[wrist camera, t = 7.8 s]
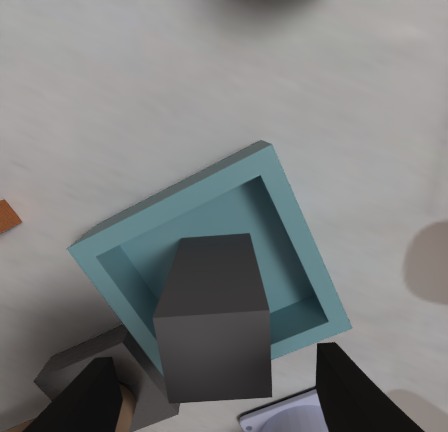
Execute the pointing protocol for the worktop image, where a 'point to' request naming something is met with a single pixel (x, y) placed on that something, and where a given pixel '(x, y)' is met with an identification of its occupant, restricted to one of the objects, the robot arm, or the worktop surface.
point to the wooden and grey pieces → (122, 357)
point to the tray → (210, 226)
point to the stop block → (214, 322)
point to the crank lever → (124, 416)
